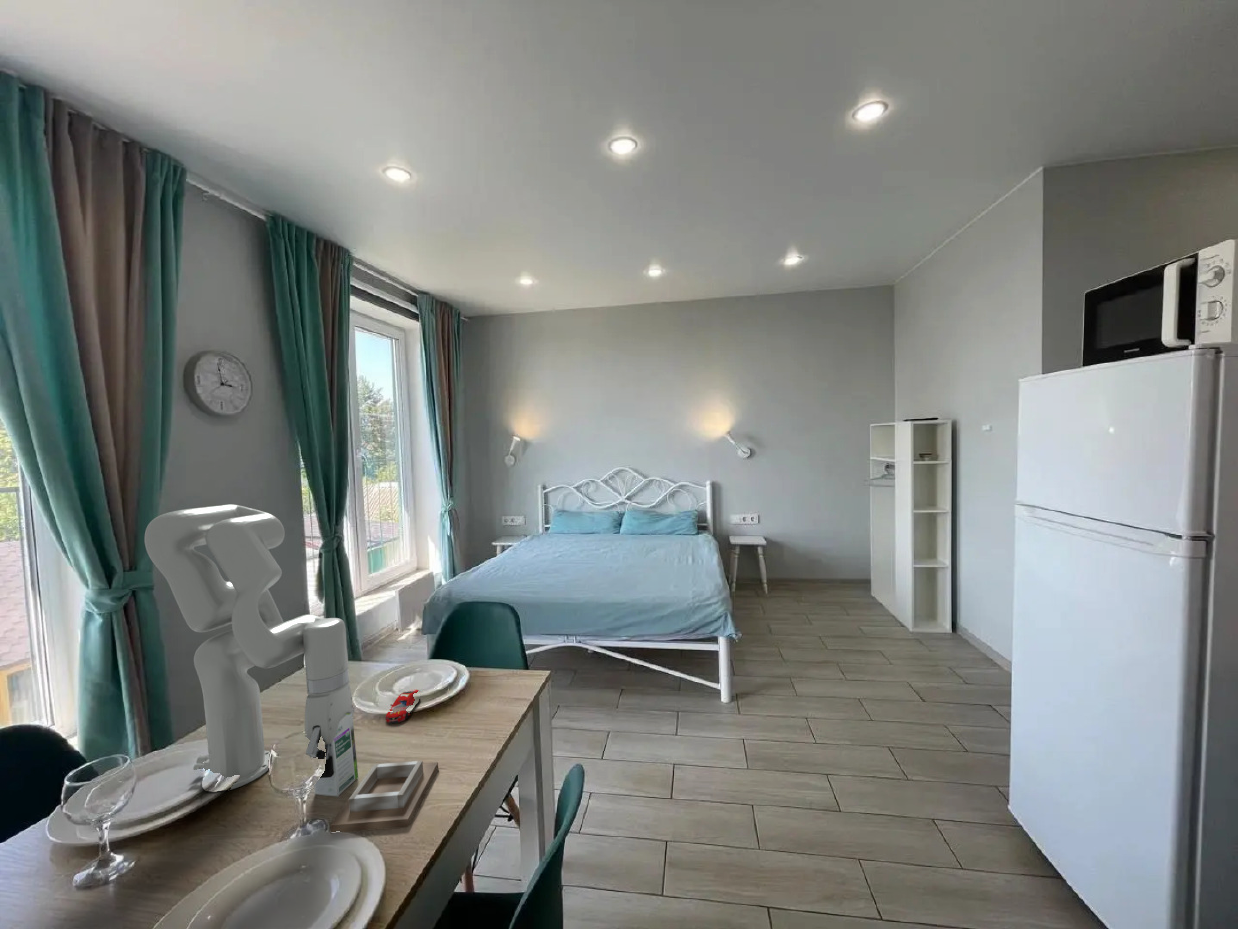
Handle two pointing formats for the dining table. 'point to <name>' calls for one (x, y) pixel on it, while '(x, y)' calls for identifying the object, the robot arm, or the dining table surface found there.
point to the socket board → (386, 797)
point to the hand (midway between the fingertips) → (334, 764)
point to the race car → (401, 707)
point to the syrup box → (340, 760)
